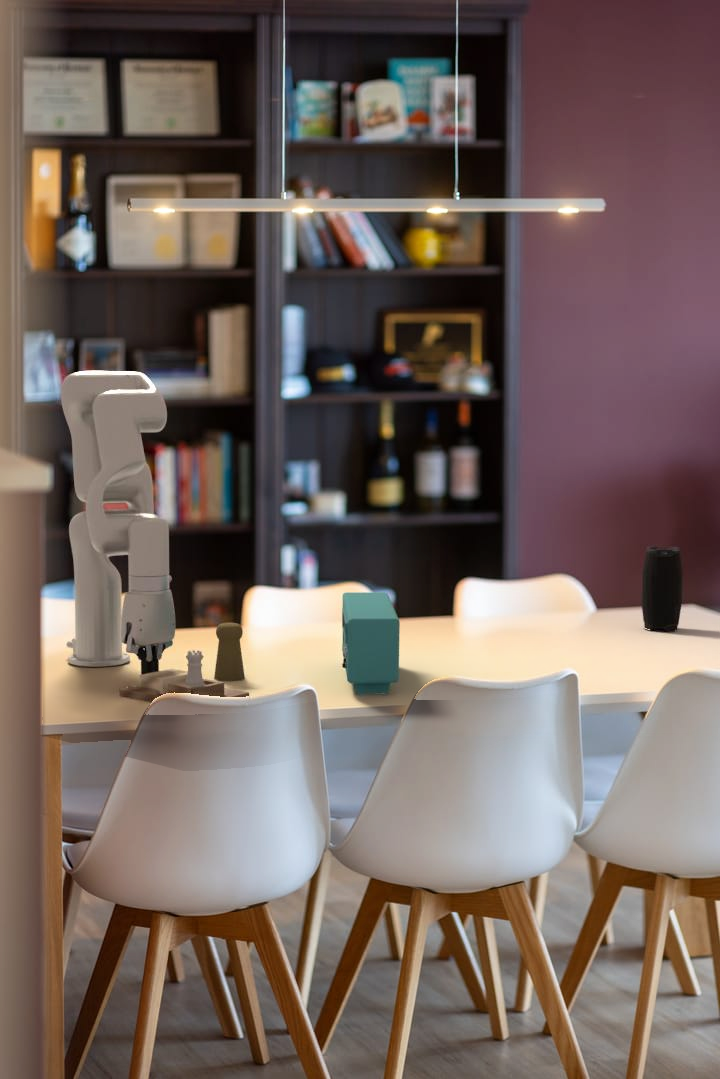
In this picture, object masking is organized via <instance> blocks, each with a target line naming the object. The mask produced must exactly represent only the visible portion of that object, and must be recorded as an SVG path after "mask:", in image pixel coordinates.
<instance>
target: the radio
mask: <svg viewBox="0 0 720 1079" xmlns="http://www.w3.org/2000/svg"><path fill="white" fill-rule="evenodd" d="M341 611H342V612H341V613H342V615H341V619H342V620H341V622H342V624H341V625H342V626H341V627H342V628H341V629H342V646H341V648H342V649H341V651H342V657H343V662H342V664H341V665H342V668H344V669H345V674H346V679H347V680H346V681H347V683H349V684H352V685H353V687H354V691H355V695H380V694H381V693H386V694H389V692H390V690H391V684H397V683H398V682H399V680H400V676H399V675H400V629H401V628H400V623H401V622H400V619H399V617H398V615H397V612H396V610H395V607H394V604H393V603H392V600H391V598H390V596H389V594H388V593H387V592H344V593H343V594H342V610H341Z"/></svg>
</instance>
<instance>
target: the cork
mask: <svg viewBox="0 0 720 1079" xmlns="http://www.w3.org/2000/svg"><path fill="white" fill-rule="evenodd" d="M215 635H216V637H217V639H218V645H217V653H216V661H215V668H214V676H213V677H214V678H213V679H214V681H218V682H239V681H243V680H245V679H246V677H245V669H244V662H243V655H242V648H241V647H242V646H241V641H240V640H241V638H242V637H243V628H242V626H241V624H240V623H236V622H222V623H220V624H218V625H217V627H216V629H215Z"/></svg>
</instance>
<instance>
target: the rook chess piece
mask: <svg viewBox="0 0 720 1079" xmlns="http://www.w3.org/2000/svg"><path fill="white" fill-rule="evenodd" d="M202 653H203V652H202V650H197V651H196V650H195V649H194V650H192V651H191V650H188V651H187V655H186V656H185V658H186V660H187V665H186V666H187V672H188V675H187V680H186V681H185V682H186V683H185V684H184V685H185V686H190V687H199V686H204V685H206V684H205V683H204V680H203V679H204V678H203V672H202V666H203V664H202V660H203V658H204V655H203V654H202Z"/></svg>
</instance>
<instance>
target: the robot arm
mask: <svg viewBox="0 0 720 1079" xmlns="http://www.w3.org/2000/svg"><path fill="white" fill-rule="evenodd" d="M60 388H61V391H60V401H61V406H62V407H61V408H62V410H63V411H62V412H63V414H64V417H65V421H66V423H67V426H68V428H69V432H70V436H71V446H72V447H71V448H72V449H71V450H72V465H73V467H72V468H73V470H72V471H73V481H74V483H73V484H74V491H75V495H76V496H77V499H79V500H80V501H81V502H82V503H83V502H84V503H85V511H81V512H78V513H77V514H75V515H74V516H73V517H72V518H71V520H70V522H69V526H68V534H69V542H70V547H71V554H72V559H73V572H74V573H73V574H74V575H73V576H74V626H75V631H74V632H75V635H74V636H75V637H73V638H72V639H71V641H67V642H66V647H67V648H71V649H72V654H70V655H68V658H67V661H68V663H69V665H72V666H78V667H90V668H91V667H92V668H93V667H94V668H100V667H101V668H102V667H113V666H114V667H115V666H119V665H124V664H127V663H128V662H130V660H131V658H130V656H131V655H130V654H135V655H136V657H137V659H138V660H139V661H140V675H142V674H147V673H152V672H157V671H160V669H159V668H160V667H159V666H160V665H159V661H160V660H161V659H162V657H163V653H164V652H165V650H166V649H168V648H170V647H172V646H173V645H174V644H173V643H174V641H173V639H175V636H176V613H175V605H174V599H173V594H172V590H171V589H170V583H171V582H172V580H173V579H172V576H171V575H170V539H169V538H170V532H169V530H170V528H169V527H170V526H169V524H168V522H167V520H165V519H163V518H162V517H160V516H158V514H155V509H154V508H155V506H154V486H153V477H152V471H151V469H150V466H149V464H148V463H147V461H146V455H145V452H144V444H143V440H142V433H159V432H161V431H162V430H163V429H164V428H165V427H166V424H167V421H168V420H167V419H168V411H167V404H166V402H165V398H164V397H163V395H162V392H160V390H159V388H158V387H157V386H156V385H155V384H154V383H153V381H152V380H151V379H150V377H148V376H147V375H146V374H145V373H143V372H140V371H129V370H128V371H127V370H125V371H124V370H123V371H122V370H121V371H120V370H119V371H118V370H117V371H114V370H112V371H109V370H83V371H77V372H73V373H70V374H68V375H67V376H65V378H64V379H63V381H62V384H61V387H60ZM111 503H112V504H113V503H126V505H127V507H128V508H121V509H120V508H117V509H114V508H109V509H104V504H111ZM125 555H126V556H128V557H127V558H128V564H127V567H128V591H127V592H125V594H124V598H123V602H122V577H121V574H120V572H119V570H118V569H117V567H116V566H115V565H114V564H113V563H112V562H111V560H110V557H112V556H113V557H114V556H125ZM123 644H124V645H126V648H125V652H123Z"/></svg>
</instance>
